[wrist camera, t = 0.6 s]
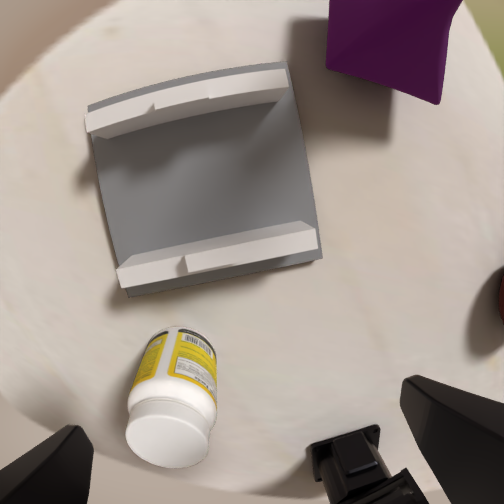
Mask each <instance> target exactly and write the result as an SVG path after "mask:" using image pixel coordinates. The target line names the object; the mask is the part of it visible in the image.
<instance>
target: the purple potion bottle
mask: <svg viewBox="0 0 504 504" xmlns="http://www.w3.org/2000/svg"><path fill="white" fill-rule="evenodd" d="M462 1H463V0H330V1H329V20H328V36H327V51H326V64H325V65H326V67H327V68H328V69H329V70H333V71H337V72H340V73H344V74H348V75H351V76H355V77H358V78H362V79H365V80H368V81H372V82H375V83H378V84H381V85H384V86H387V87H390V88H393V89H396V90H398V91H401V92H404V93H407V94H409V95H412V96H415V97H417V98H420V99H422V100H425V101H427V102H430V103H432V104H434V105H439V103H440V101H441V95H442V88H443V81H444V74H445V65H446V57H447V48H448V37H449V30H450V26H451V22H452V18H453V16H454V14H455V12H456V11H457V9H458V7H459V6H460V4H461V2H462Z"/></svg>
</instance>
